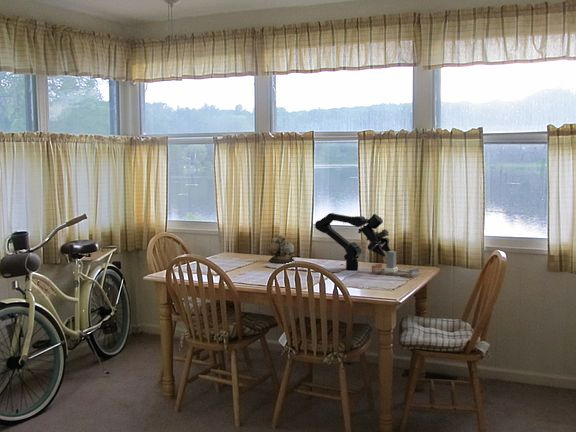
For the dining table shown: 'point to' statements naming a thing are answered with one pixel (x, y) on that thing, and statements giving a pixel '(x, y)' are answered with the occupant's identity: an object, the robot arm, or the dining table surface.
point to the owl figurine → (281, 250)
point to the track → (411, 273)
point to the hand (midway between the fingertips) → (388, 255)
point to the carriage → (391, 262)
